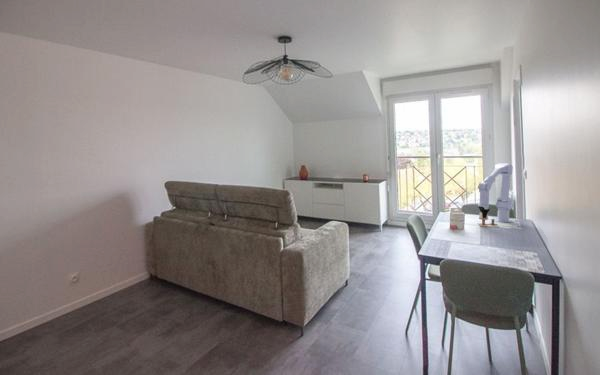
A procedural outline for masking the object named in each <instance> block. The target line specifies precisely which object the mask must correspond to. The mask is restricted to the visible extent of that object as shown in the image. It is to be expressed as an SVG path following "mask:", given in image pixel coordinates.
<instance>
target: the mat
mask: <svg viewBox="0 0 600 375" xmlns="http://www.w3.org/2000/svg"><path fill="white" fill-rule="evenodd" d="M495 223H496V224H497V225H498V226H499V227H513V225H512V224H511V223H508V222H507V223H506V222H504V223H503V222H495Z"/></svg>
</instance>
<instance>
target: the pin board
mask: <svg viewBox="0 0 600 375" xmlns="http://www.w3.org/2000/svg"><path fill="white" fill-rule="evenodd" d="M496 223H497V222H495V218H492V219H491V222H486V220H481V222H477V225H478V226H479V227H480V228H500V226H498V225H497V224H496Z"/></svg>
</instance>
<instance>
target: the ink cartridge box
mask: <svg viewBox="0 0 600 375" xmlns="http://www.w3.org/2000/svg"><path fill="white" fill-rule="evenodd" d="M465 214H466V213H465V212H463V207H450V212H449V228H450V229H451V230H465V219H466V218H465V216H466V215H465Z"/></svg>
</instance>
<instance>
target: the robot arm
mask: <svg viewBox="0 0 600 375" xmlns="http://www.w3.org/2000/svg"><path fill="white" fill-rule="evenodd" d="M513 169H514V168H513V165H512V164H511V163H496V164H495V166H494V169H493V171H492V173H490V175H487V176H486V178H485V179H484V180H483V181H482V182H479V184H478V192H479V204H477V206H478V209H479V212H482V217H483V218H486V217H487V214H488V215H489V211H490V208H489V207H490V205H489V204H490V203H489V202H490V190H492V186H493V184H494V183H495V182H496V178H497V177H498V176H499V175H500V176H502V178H501V189H500V196H499V197H497V199H496V201H495V207H496V209H497V218H495V220H497V222H504V223H506V222H507V223H508V222H512V221H511V220H510V210H511V209H512V208H513V205H514V204H513V199H512V198H510V197H509V195H510V185H511V183H510V182H511V175H513Z"/></svg>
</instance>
